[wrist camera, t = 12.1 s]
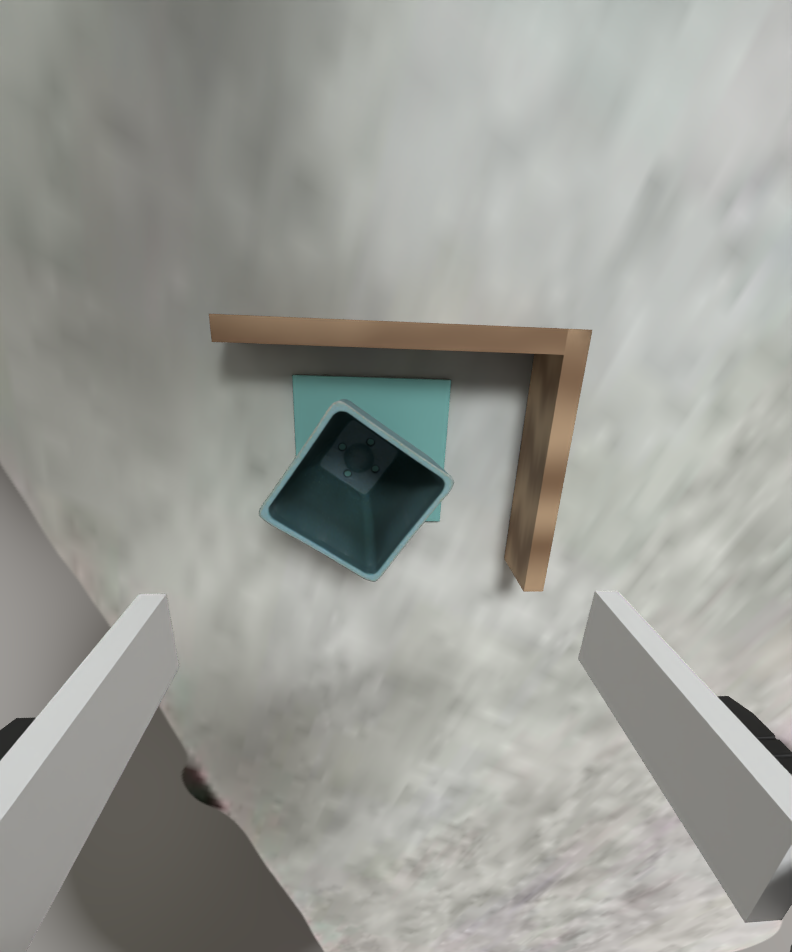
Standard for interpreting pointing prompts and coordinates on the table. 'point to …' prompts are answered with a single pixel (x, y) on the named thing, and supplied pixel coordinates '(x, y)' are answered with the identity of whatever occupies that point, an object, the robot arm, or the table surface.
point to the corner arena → (553, 351)
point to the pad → (379, 409)
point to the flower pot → (356, 491)
